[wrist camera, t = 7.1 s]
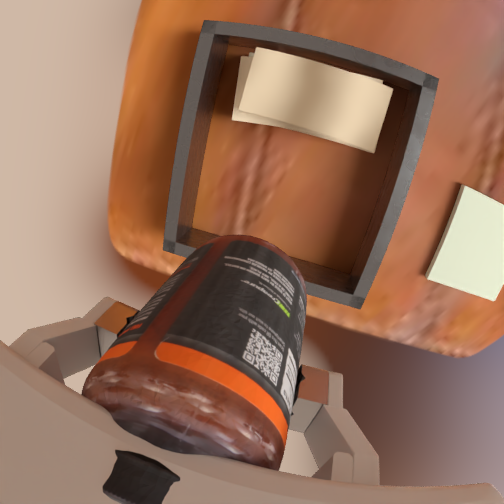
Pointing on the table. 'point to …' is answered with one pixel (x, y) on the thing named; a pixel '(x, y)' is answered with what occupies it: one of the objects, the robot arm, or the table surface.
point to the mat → (472, 246)
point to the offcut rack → (335, 53)
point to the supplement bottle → (206, 365)
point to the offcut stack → (310, 98)
